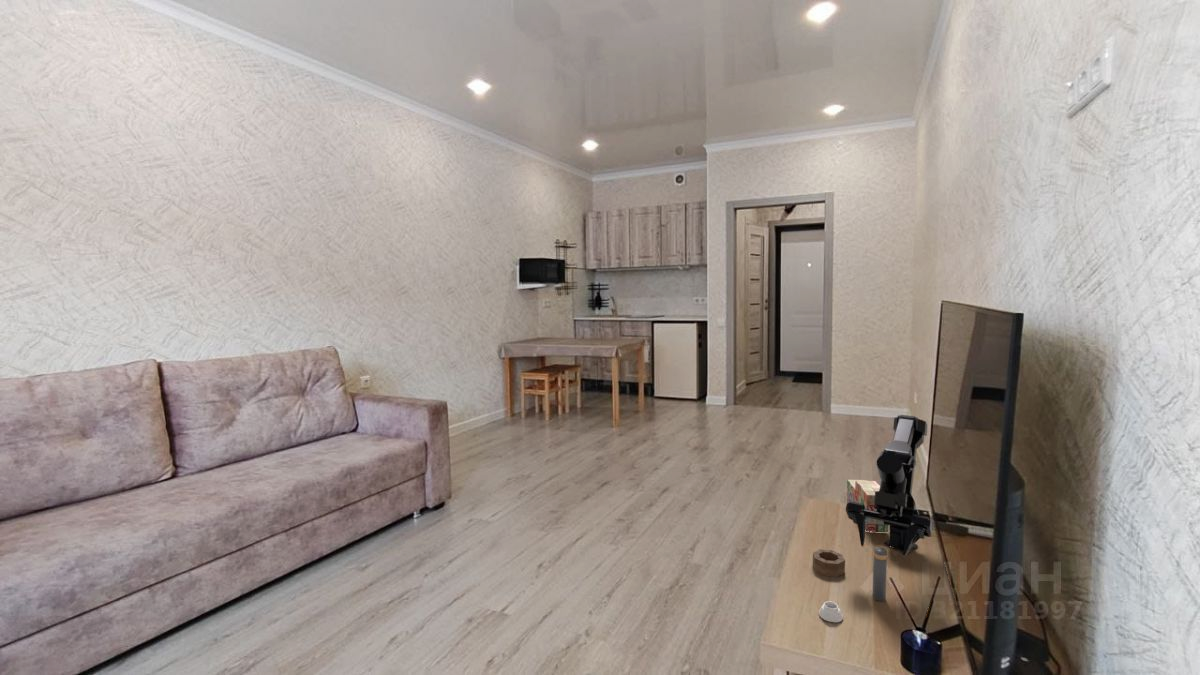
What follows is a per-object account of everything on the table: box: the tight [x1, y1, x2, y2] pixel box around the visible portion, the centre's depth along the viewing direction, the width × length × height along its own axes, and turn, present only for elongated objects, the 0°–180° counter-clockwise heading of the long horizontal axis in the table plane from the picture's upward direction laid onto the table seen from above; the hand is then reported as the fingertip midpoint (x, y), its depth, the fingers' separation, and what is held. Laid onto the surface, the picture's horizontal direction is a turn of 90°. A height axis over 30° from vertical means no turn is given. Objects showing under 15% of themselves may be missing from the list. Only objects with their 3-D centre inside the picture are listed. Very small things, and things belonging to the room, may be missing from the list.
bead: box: [812, 548, 846, 578], centre depth 143 cm, size 7×7×4 cm
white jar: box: [818, 600, 844, 623], centre depth 122 cm, size 5×3×5 cm
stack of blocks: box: [846, 479, 889, 533], centre depth 173 cm, size 21×6×12 cm, turn 170°
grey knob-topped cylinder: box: [872, 546, 888, 602], centre depth 129 cm, size 3×3×12 cm
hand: (882, 550), depth 131 cm, fingers open, 9 cm apart
